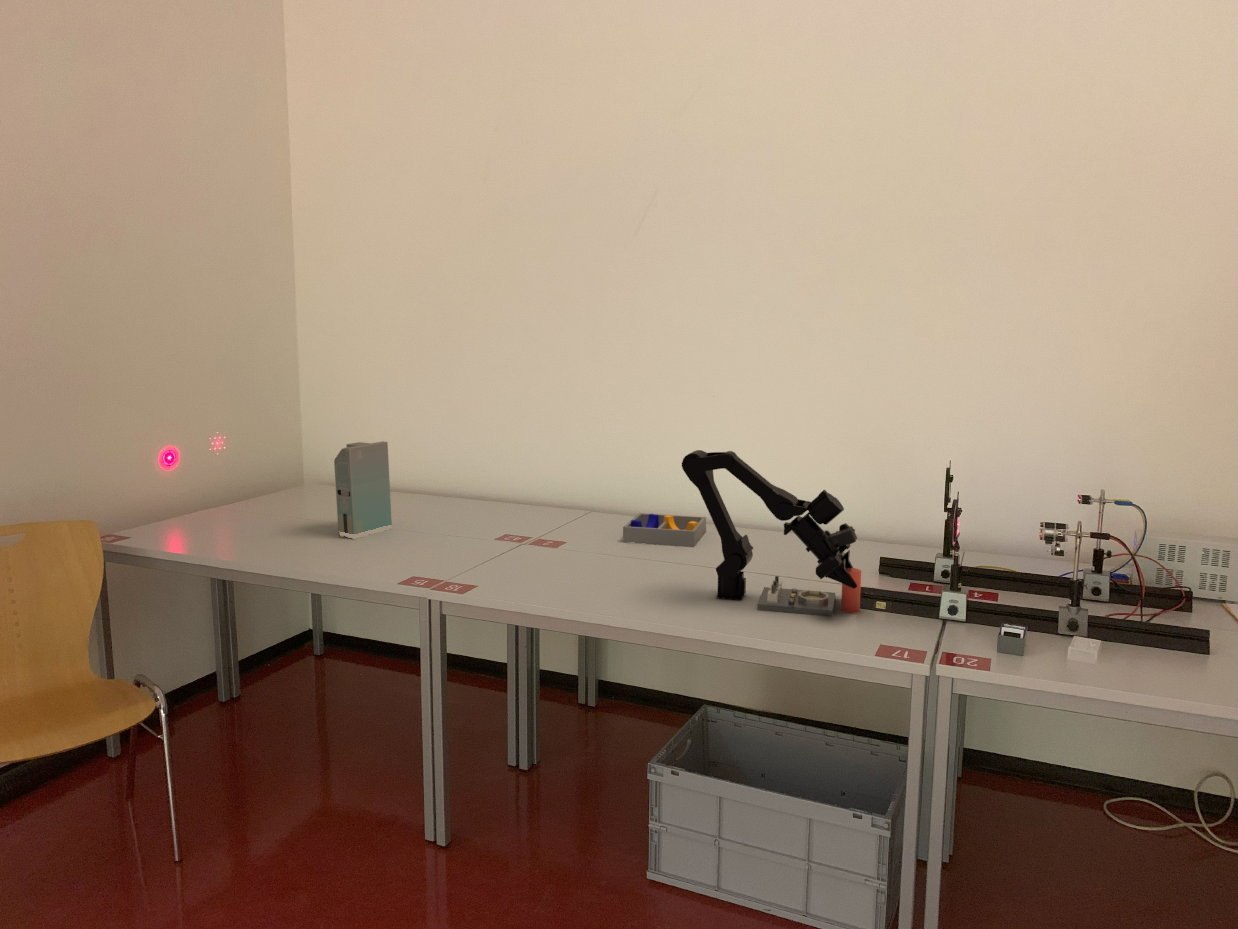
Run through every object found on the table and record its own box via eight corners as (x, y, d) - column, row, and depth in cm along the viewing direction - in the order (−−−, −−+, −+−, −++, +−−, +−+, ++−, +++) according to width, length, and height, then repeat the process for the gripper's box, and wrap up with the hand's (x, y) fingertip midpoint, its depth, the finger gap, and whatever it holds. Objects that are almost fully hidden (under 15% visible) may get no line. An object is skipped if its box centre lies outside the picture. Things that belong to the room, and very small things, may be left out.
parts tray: (623, 542, 284) (623, 526, 283) (639, 527, 303) (639, 513, 302) (694, 547, 277) (694, 531, 277) (706, 531, 296) (706, 517, 296)
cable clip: (642, 540, 287) (642, 522, 286) (631, 538, 289) (630, 520, 288) (662, 533, 296) (662, 515, 295) (651, 531, 299) (651, 513, 298)
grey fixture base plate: (757, 609, 219) (757, 588, 218) (764, 592, 232) (764, 572, 231) (832, 616, 214) (833, 594, 213) (835, 598, 227) (835, 577, 226)
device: (376, 526, 307) (371, 440, 302) (392, 529, 303) (388, 441, 298) (338, 536, 293) (332, 446, 288) (354, 539, 289) (349, 448, 284)
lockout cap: (840, 611, 217) (842, 572, 216) (841, 606, 221) (842, 567, 220) (859, 613, 216) (861, 573, 214) (859, 607, 220) (861, 568, 219)
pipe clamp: (700, 540, 286) (701, 521, 285) (691, 543, 283) (692, 523, 282) (671, 533, 294) (672, 514, 293) (662, 535, 291) (663, 516, 290)
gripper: (831, 524, 208) (878, 574, 206) (843, 507, 225) (886, 554, 223) (796, 553, 212) (842, 603, 210) (810, 535, 229) (852, 581, 227)
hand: (857, 584), depth 217 cm, fingers closed on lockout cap, 4 cm apart
